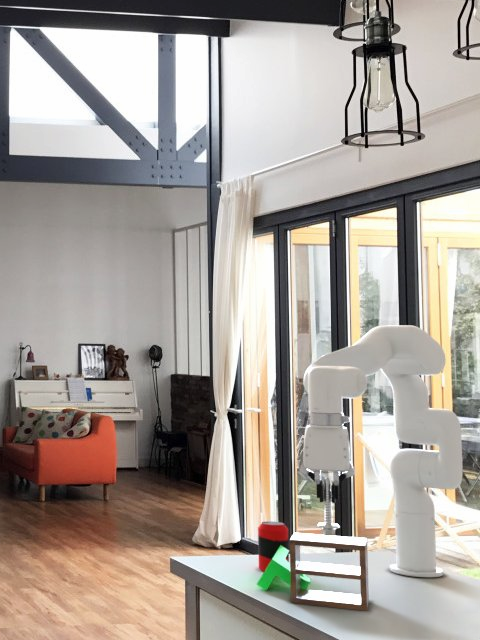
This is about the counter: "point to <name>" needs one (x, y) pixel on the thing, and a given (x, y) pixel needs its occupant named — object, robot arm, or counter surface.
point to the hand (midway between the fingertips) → (327, 501)
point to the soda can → (271, 541)
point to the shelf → (328, 572)
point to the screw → (328, 512)
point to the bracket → (280, 570)
